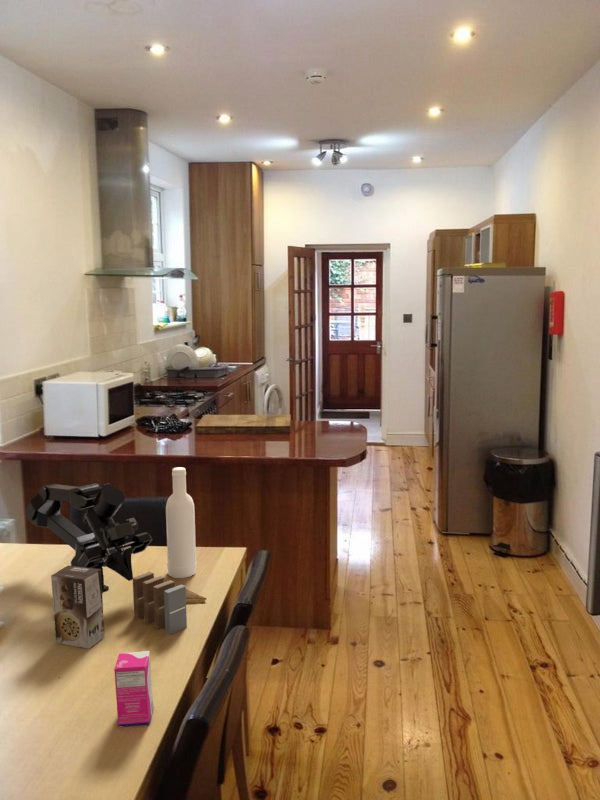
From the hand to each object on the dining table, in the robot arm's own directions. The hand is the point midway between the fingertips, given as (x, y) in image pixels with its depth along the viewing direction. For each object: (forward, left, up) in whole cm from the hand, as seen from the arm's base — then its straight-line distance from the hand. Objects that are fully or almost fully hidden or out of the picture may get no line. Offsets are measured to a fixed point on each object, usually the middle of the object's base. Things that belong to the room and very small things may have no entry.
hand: (131, 579), depth 174 cm
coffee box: (+5, -17, -8) cm, 20 cm away
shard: (+4, +13, -8) cm, 16 cm away
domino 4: (+17, 0, -8) cm, 19 cm away
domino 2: (+9, 0, -8) cm, 12 cm away
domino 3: (+13, 0, -8) cm, 15 cm away
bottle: (-9, +23, -8) cm, 26 cm away
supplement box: (+39, -27, -8) cm, 48 cm away
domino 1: (+5, 0, -8) cm, 9 cm away
